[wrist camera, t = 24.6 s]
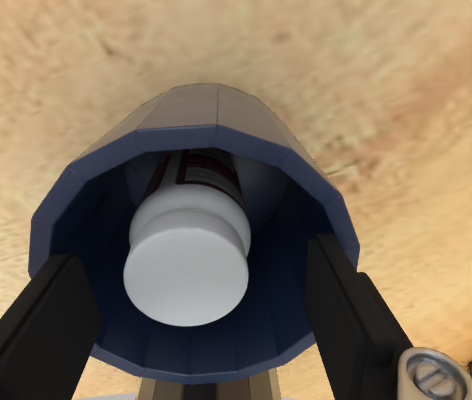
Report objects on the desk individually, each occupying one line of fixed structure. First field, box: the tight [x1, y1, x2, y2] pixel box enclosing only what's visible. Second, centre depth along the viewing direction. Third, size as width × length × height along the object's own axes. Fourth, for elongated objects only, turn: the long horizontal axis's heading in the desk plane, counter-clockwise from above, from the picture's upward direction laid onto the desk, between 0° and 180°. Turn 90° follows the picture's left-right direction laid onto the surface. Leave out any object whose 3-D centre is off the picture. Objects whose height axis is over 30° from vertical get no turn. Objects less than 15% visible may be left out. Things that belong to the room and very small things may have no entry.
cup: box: [136, 368, 282, 400], centre depth 19 cm, size 9×9×10 cm
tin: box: [28, 84, 360, 385], centre depth 14 cm, size 10×10×9 cm
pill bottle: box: [123, 147, 251, 326], centre depth 14 cm, size 5×5×8 cm
